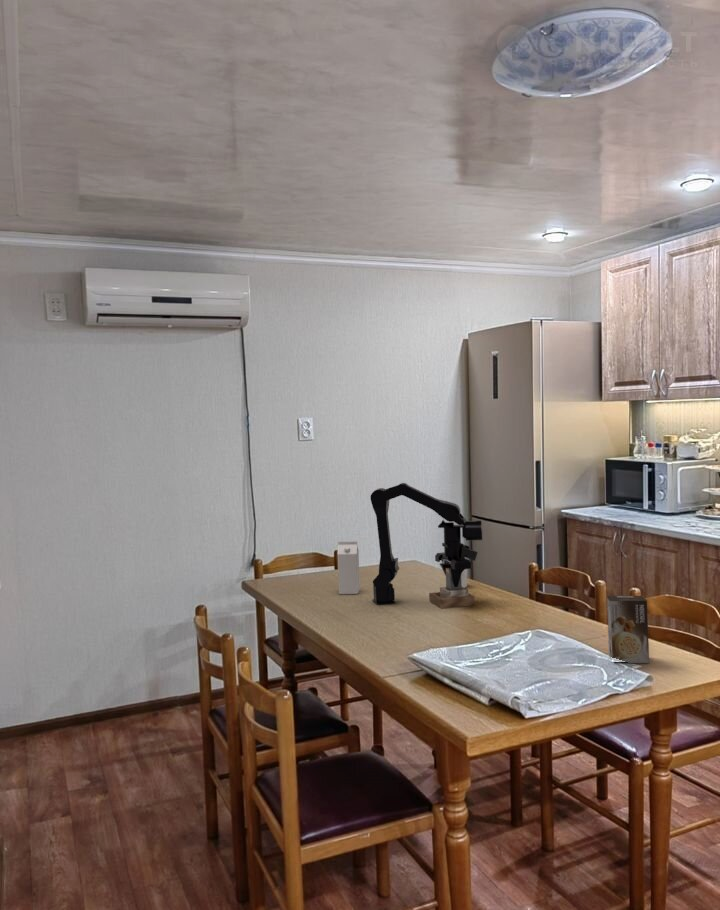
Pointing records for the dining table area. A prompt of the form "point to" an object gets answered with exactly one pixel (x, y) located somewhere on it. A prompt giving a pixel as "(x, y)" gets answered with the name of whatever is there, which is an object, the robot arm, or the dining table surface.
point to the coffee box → (628, 628)
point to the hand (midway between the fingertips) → (453, 585)
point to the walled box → (451, 598)
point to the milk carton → (348, 568)
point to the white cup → (464, 578)
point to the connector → (451, 582)
